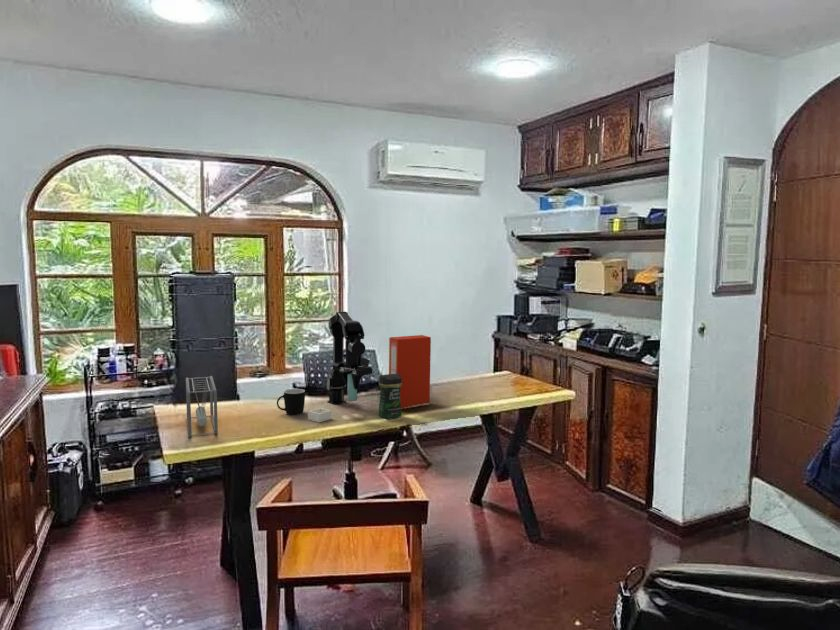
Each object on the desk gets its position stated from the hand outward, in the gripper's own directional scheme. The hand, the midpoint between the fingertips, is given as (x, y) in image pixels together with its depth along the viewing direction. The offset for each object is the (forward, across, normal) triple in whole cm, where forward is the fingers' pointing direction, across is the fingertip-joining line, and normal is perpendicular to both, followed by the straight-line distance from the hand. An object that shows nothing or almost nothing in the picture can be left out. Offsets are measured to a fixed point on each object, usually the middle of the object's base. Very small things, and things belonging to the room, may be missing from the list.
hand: (352, 388), depth 246 cm
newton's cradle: (+13, +37, +48) cm, 62 cm away
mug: (+13, +24, +13) cm, 31 cm away
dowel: (+5, 0, 0) cm, 5 cm away
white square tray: (+13, +8, +11) cm, 19 cm away
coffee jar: (+13, -10, -13) cm, 21 cm away
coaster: (+13, 0, 0) cm, 13 cm away
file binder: (+13, -4, -32) cm, 35 cm away
